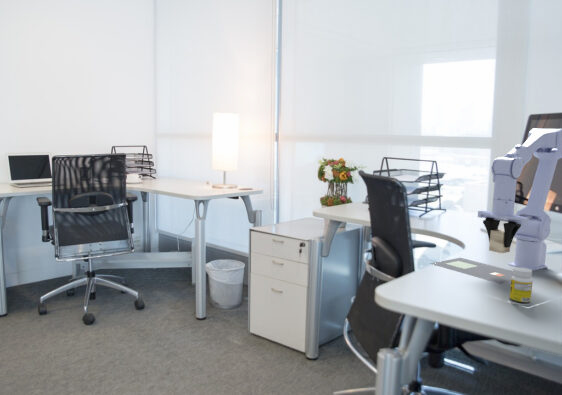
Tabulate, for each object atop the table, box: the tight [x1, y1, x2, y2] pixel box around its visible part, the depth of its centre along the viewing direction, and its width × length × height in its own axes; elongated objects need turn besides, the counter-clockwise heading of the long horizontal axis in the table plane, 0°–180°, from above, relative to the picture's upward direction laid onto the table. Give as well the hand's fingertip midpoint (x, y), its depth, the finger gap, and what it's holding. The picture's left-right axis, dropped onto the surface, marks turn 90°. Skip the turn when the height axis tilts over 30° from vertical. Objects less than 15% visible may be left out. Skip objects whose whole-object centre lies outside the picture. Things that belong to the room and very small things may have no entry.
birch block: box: [488, 228, 511, 254], centre depth 142 cm, size 4×4×6 cm
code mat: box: [429, 257, 514, 285], centre depth 149 cm, size 16×24×1 cm, turn 35°
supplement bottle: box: [509, 267, 534, 307], centre depth 119 cm, size 5×5×8 cm
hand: (499, 245), depth 143 cm, fingers closed on birch block, 4 cm apart
